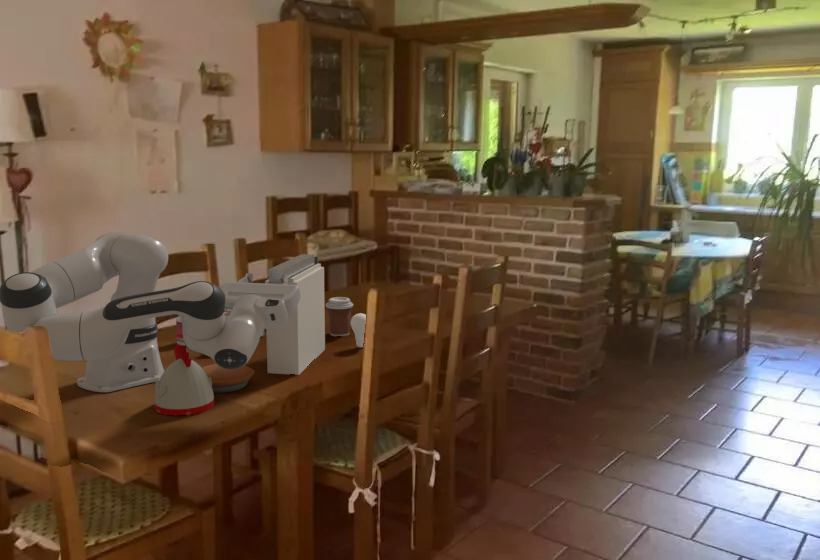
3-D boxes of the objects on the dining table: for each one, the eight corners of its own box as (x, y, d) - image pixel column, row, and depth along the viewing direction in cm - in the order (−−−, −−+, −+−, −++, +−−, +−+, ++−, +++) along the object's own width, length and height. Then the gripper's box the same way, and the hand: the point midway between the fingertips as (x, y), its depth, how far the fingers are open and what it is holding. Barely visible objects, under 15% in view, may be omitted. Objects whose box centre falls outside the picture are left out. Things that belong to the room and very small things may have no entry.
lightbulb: (365, 351, 228) (365, 316, 226) (347, 349, 230) (347, 314, 228) (373, 346, 234) (373, 312, 232) (355, 344, 235) (355, 310, 233)
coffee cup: (325, 337, 243) (324, 302, 241) (327, 330, 252) (326, 296, 250) (352, 337, 244) (352, 302, 241) (353, 330, 253) (353, 296, 250)
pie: (221, 400, 184) (220, 381, 183) (181, 387, 193) (180, 369, 192) (266, 384, 196) (266, 366, 195) (227, 373, 205) (226, 356, 204)
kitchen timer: (199, 393, 189) (197, 336, 186) (224, 407, 179) (222, 347, 176) (145, 404, 180) (142, 344, 178) (168, 420, 170) (165, 357, 167)
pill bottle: (192, 346, 231) (191, 312, 229) (174, 345, 232) (172, 311, 230) (200, 341, 237) (198, 307, 235) (181, 340, 238) (180, 307, 236)
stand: (298, 375, 204) (296, 271, 199) (267, 373, 205) (264, 270, 200) (325, 349, 230) (324, 256, 224) (297, 347, 231) (296, 255, 226)
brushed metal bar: (283, 284, 196) (282, 270, 195) (268, 284, 196) (268, 269, 196) (314, 267, 223) (314, 254, 222) (301, 267, 223) (301, 254, 223)
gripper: (213, 320, 182) (232, 283, 193) (293, 324, 179) (307, 287, 189) (207, 301, 178) (226, 264, 189) (288, 305, 175) (303, 268, 185)
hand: (267, 276), depth 189 cm, fingers open, 8 cm apart
